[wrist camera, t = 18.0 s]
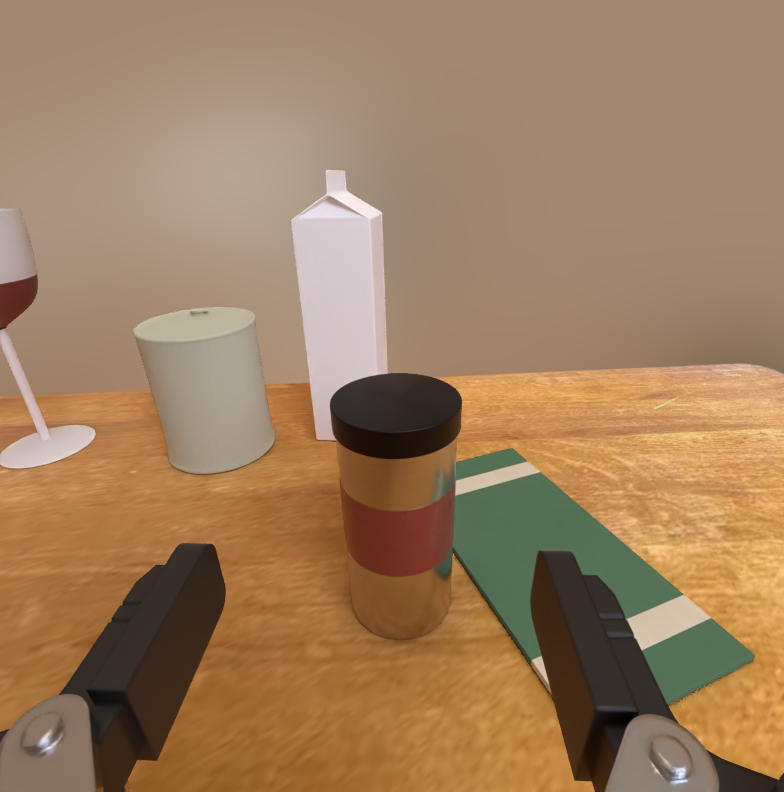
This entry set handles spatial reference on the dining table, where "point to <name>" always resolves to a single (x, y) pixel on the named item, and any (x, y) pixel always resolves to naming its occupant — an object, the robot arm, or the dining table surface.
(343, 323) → the milk
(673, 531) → the dining table surface
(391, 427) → the jar
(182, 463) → the can
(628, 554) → the towel
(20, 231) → the wineglass
